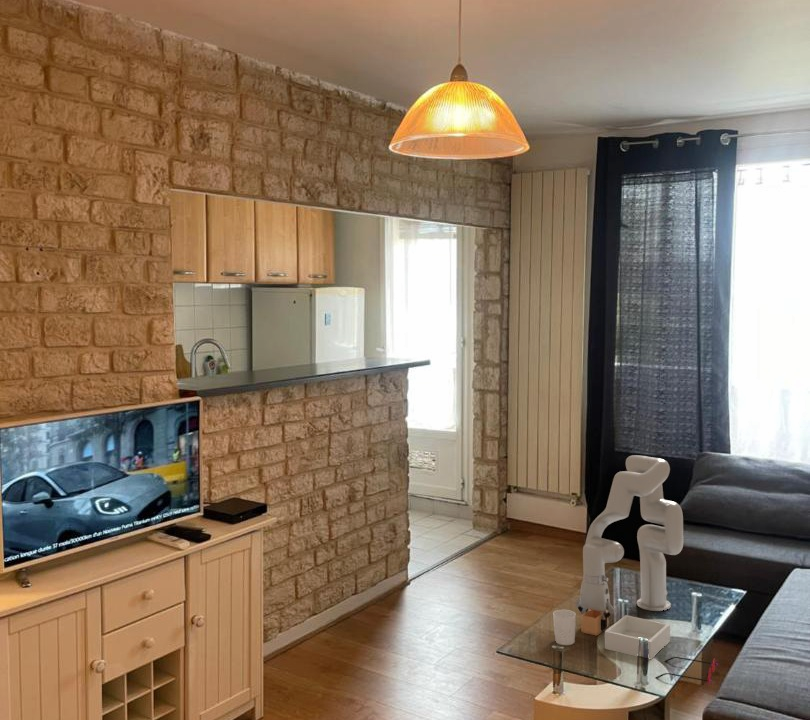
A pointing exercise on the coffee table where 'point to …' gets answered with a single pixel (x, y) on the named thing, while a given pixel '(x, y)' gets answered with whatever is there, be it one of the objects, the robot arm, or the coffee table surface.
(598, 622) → the orange crate
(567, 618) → the white cup
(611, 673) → the coffee table surface
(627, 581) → the coffee table surface
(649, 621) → the box
